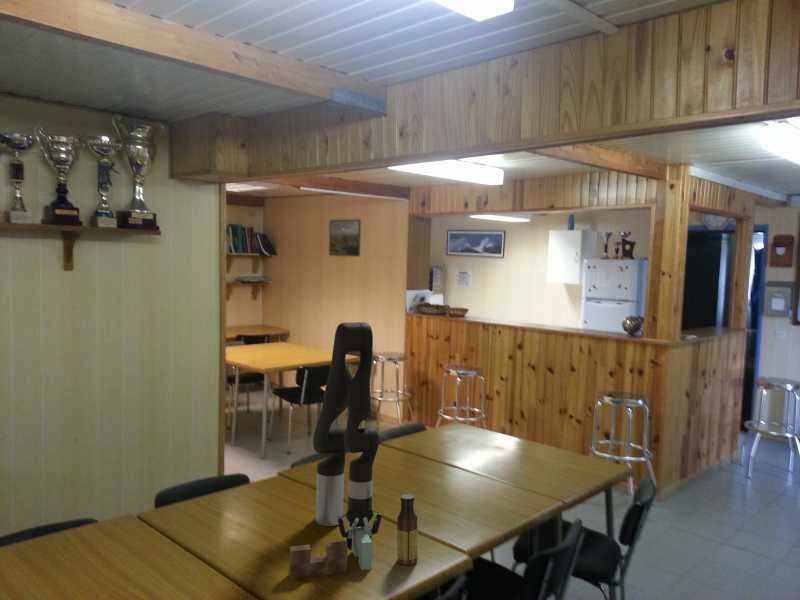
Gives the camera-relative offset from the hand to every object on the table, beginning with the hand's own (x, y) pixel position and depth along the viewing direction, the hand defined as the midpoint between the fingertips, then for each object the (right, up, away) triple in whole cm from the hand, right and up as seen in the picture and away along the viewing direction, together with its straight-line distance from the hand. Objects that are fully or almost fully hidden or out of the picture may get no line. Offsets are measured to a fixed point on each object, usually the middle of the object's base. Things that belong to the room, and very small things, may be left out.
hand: (358, 547), depth 185 cm
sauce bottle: (+15, -3, -4) cm, 15 cm away
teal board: (+1, -2, -4) cm, 4 cm away
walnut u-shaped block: (-11, -2, -13) cm, 17 cm away
